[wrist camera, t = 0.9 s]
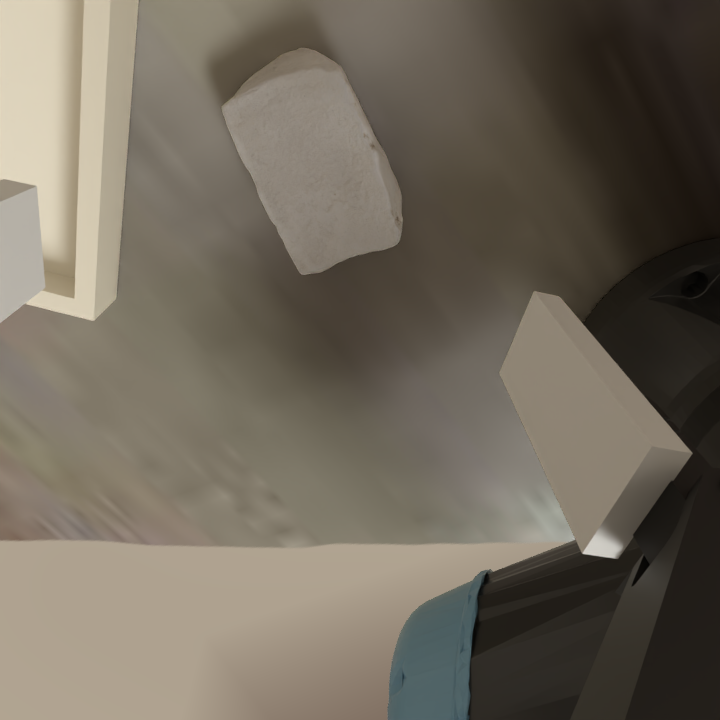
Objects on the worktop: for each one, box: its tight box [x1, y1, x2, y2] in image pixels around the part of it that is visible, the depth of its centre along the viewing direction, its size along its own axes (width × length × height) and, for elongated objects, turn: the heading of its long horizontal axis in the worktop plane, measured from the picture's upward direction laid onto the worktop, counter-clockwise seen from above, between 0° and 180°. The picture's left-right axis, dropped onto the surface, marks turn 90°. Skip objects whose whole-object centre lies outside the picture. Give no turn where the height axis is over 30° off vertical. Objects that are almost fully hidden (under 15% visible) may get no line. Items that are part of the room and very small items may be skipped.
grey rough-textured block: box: [221, 48, 403, 275], centre depth 25 cm, size 10×6×6 cm, turn 18°
